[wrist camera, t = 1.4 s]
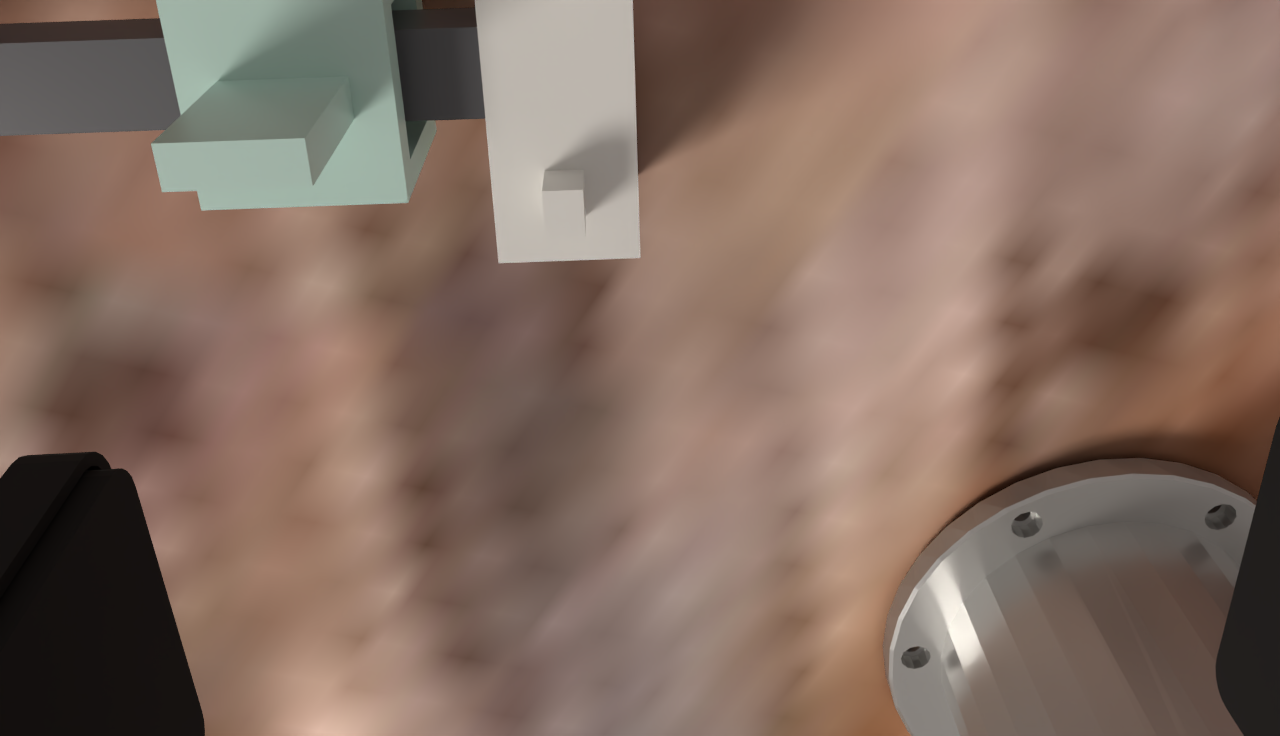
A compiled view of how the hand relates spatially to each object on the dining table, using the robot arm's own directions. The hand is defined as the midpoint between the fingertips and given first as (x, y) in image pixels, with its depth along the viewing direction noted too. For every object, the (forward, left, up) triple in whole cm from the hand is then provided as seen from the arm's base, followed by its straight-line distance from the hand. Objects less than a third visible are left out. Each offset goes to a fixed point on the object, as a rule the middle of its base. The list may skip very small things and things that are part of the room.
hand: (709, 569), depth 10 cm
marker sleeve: (+7, 0, -19) cm, 20 cm away
